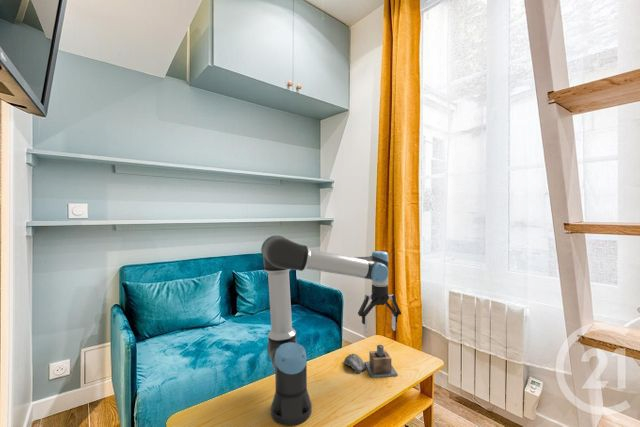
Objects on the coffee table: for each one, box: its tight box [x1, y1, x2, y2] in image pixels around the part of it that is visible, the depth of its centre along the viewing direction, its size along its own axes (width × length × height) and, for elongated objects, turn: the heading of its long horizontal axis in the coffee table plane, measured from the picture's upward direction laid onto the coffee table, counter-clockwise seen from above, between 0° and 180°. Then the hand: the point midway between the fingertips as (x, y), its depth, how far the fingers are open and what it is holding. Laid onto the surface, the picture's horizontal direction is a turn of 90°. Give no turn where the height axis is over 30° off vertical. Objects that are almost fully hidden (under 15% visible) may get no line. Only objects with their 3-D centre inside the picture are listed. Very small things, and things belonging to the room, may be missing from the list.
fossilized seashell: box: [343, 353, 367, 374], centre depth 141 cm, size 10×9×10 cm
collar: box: [368, 349, 392, 373], centre depth 138 cm, size 8×8×6 cm
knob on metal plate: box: [363, 344, 398, 379], centre depth 138 cm, size 12×12×11 cm
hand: (379, 330), depth 138 cm, fingers open, 13 cm apart
